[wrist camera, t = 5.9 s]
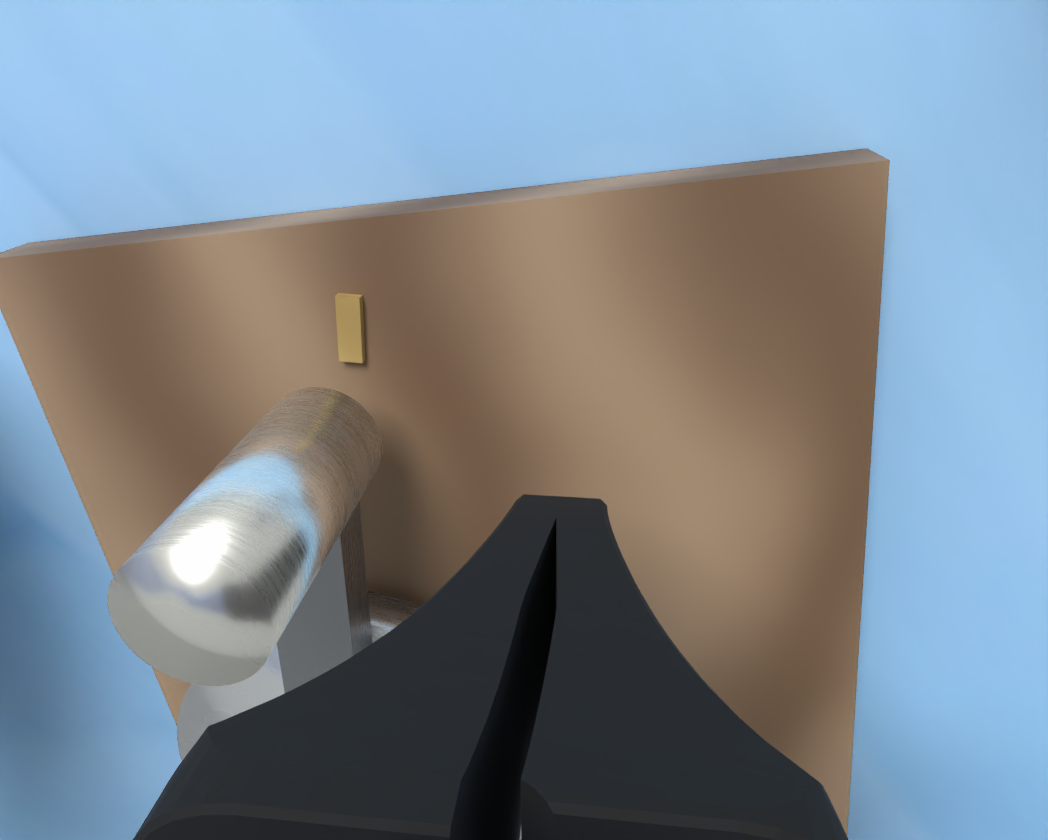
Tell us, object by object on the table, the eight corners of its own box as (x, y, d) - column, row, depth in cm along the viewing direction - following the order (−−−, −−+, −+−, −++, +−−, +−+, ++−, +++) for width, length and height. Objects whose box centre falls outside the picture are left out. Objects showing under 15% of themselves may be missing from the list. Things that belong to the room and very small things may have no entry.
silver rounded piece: (537, 859, 23) (504, 1147, 17) (232, 822, 23) (101, 1082, 18) (552, 380, 16) (506, 580, 10) (130, 355, 17) (-131, 524, 11)
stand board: (263, 839, 27) (240, 888, 25) (28, 242, 18) (-28, 262, 17) (830, 854, 24) (844, 911, 22) (866, 148, 15) (892, 161, 14)
